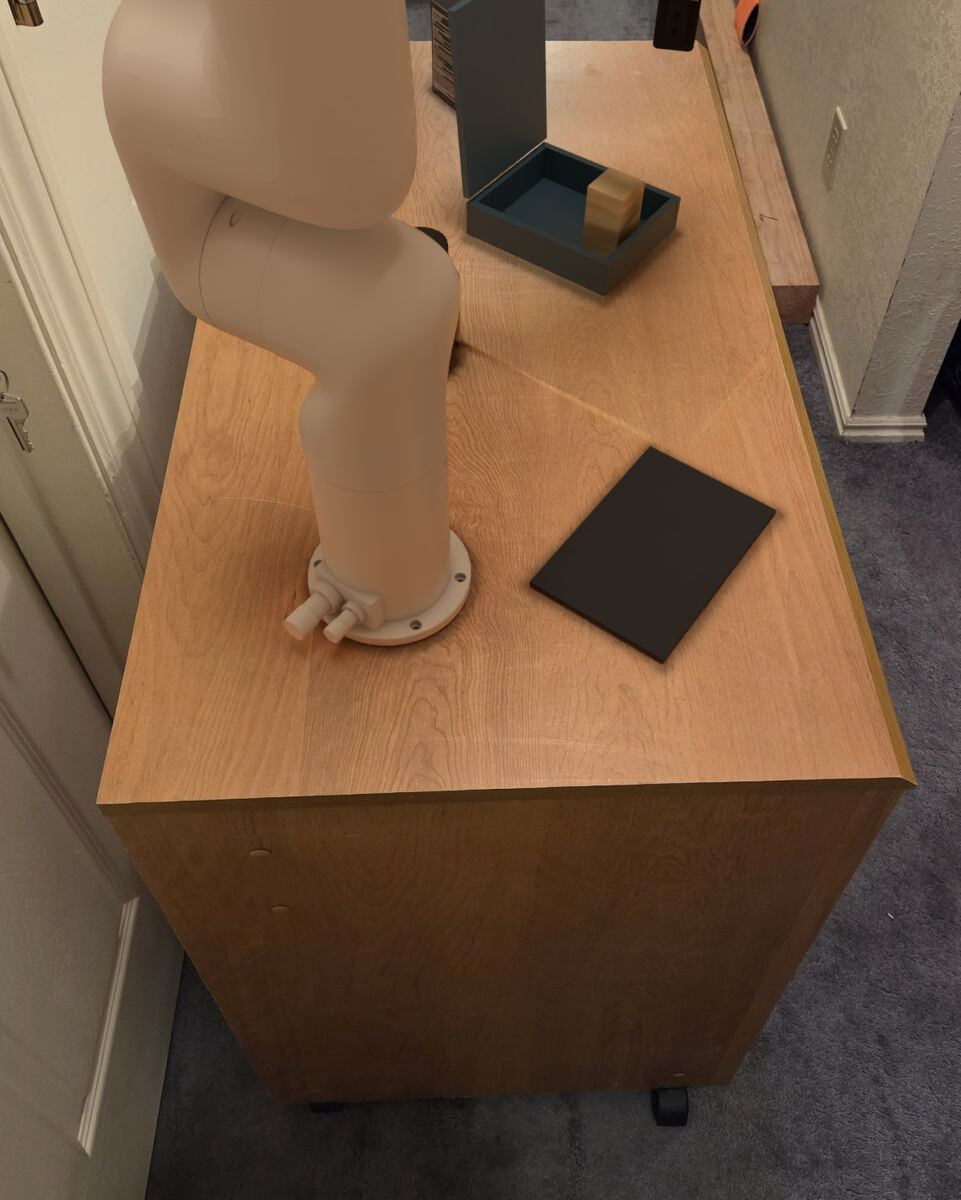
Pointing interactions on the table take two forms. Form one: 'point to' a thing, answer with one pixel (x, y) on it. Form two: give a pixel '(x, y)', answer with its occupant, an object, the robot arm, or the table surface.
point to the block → (611, 211)
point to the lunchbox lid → (497, 84)
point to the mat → (653, 552)
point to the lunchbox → (563, 218)
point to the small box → (442, 50)
